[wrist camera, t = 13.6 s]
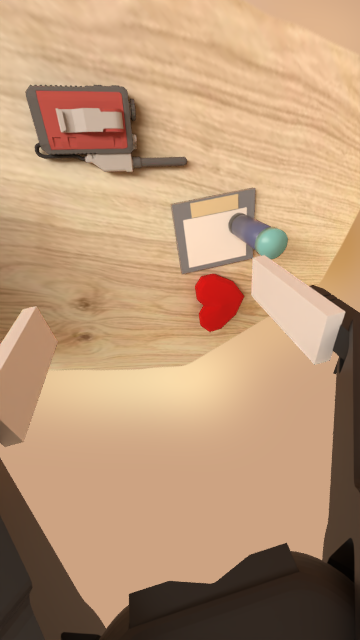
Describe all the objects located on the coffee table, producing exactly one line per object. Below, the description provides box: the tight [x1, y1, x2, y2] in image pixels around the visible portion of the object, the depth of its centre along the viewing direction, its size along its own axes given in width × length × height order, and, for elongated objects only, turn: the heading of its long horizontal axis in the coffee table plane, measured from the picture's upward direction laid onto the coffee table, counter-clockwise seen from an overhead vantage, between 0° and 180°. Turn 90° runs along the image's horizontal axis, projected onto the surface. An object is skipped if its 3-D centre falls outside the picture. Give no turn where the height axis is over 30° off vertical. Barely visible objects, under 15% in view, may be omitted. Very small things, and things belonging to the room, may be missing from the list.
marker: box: [228, 213, 288, 259], centre depth 36 cm, size 4×4×12 cm
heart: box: [195, 274, 244, 332], centre depth 49 cm, size 12×4×10 cm
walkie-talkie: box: [26, 85, 187, 172], centre depth 31 cm, size 9×4×20 cm
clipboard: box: [171, 188, 255, 274], centre depth 42 cm, size 14×12×1 cm
